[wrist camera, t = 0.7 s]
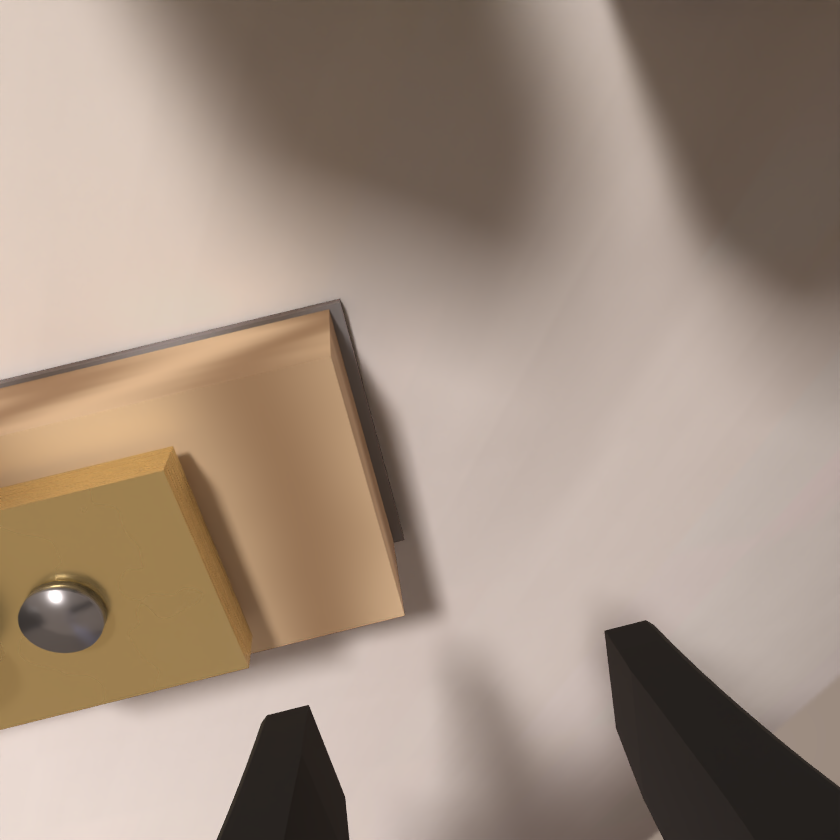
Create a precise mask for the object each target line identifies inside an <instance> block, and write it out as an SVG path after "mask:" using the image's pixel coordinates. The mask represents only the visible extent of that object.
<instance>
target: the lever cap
mask: <svg viewBox="0 0 840 840" xmlns="http://www.w3.org/2000/svg"><path fill="white" fill-rule="evenodd" d="M252 638H253V636H252V633H251V631H250V628H249V626H248V624H247V621H246V619H245V617H244V614H243V612H242V609H241V607H240V605H239V602H238V600H237V597H236V595H235V593H234V590H233V588H232V586H231V583H230V581H229V578H228V576H227V574H226V571H225V569H224V566H223V564H222V562H221V559H220V557H219V555H218V552H217V550H216V547H215V545H214V543H213V540H212V538H211V536H210V533H209V531H208V528H207V526H206V524H205V521H204V519H203V516H202V514H201V512H200V509H199V507H198V505H197V502H196V500H195V497H194V495H193V493H192V490H191V488H190V485H189V483H188V481H187V478H186V476H185V474H184V471H183V469H182V466H181V464H180V462H179V459H178V457H177V455H176V452H175V450H174V447H173V446H170V447H166V448H162V449H158V450H154V451H150V452H146V453H142V454H138V455H133V456H129V457H125V458H121V459H117V460H113V461H109V462H105V463H101V464H96V465H92V466H88V467H84V468H80V469H76V470H72V471H68V472H64V473H59V474H55V475H51V476H47V477H43V478H39V479H35V480H31V481H27V482H22V483H18V484H14V485H10V486H6V487H2V488H0V730H2V729H6V728H10V727H14V726H18V725H22V724H26V723H30V722H34V721H38V720H42V719H46V718H50V717H54V716H58V715H62V714H66V713H70V712H74V711H78V710H82V709H86V708H90V707H94V706H98V705H102V704H106V703H110V702H114V701H118V700H122V699H126V698H130V697H134V696H138V695H142V694H146V693H150V692H154V691H158V690H162V689H166V688H170V687H174V686H178V685H182V684H186V683H190V682H194V681H198V680H202V679H206V678H210V677H214V676H218V675H222V674H226V673H230V672H234V671H238V670H242V669H246V668H249V663H250V654H251V646H252Z"/></svg>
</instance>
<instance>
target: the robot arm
mask: <svg viewBox="0 0 840 840" xmlns="http://www.w3.org/2000/svg"><path fill="white" fill-rule="evenodd" d="M605 639H606V647H607V656H608V664H609V673H610V681H611V689H612V698H613V706H614V714H615V723H616V729H617V732H618V734H619V737H620V740H621V742H622V745H623V747H624V750H625V753H626V755H627V758H628V761H629V763H630V766H631V768H632V771H633V773H634V776H635V778H636V781H637V784H638V786H639V789H640V791H641V794H642V796H643V799H644V801H645V803H646V805H647V807H648V809H649V811H650V813H651V815H652V817H653V819H654V821H655V823H656V825H657V827H658V829H659V831H660V833H661V835H662V837H663V839H664V840H840V787H839V786H837V785H836V784H835V783H834V782H832V781H831V780H829V779H828V778H827V777H826V776H824V775H823V774H822V773H821V772H819V771H818V770H817V769H815V768H814V767H813V766H811V765H810V764H809V763H808V762H806V761H805V760H804V759H803V758H801V757H800V756H799V755H798V754H796V753H795V752H794V751H793V750H791V749H790V748H789V747H788V746H786V745H785V744H784V743H783V742H782V741H780V740H779V739H778V738H777V737H776V736H774V735H773V734H772V733H771V732H770V731H769V730H767V729H766V728H765V727H764V726H763V725H761V724H760V723H759V722H758V721H757V720H756V719H754V718H753V717H752V716H751V715H750V714H748V713H747V712H746V711H745V710H744V709H743V708H741V707H740V706H739V705H738V704H737V703H736V702H735V701H733V700H732V699H731V698H730V697H729V696H728V695H727V694H725V693H724V692H723V691H722V690H721V689H720V688H719V687H718V686H717V685H716V684H714V683H713V682H712V681H711V680H710V679H709V678H708V677H707V676H706V675H705V674H704V673H702V672H701V671H700V670H699V669H698V668H697V667H696V666H695V665H694V664H693V663H692V662H691V661H690V660H689V659H688V658H687V657H686V656H684V655H683V654H682V653H681V652H680V651H679V650H678V649H677V648H676V647H675V646H674V645H673V644H672V643H671V642H670V641H669V640H668V639H667V638H666V637H665V636H664V635H663V634H662V633H661V632H660V631H659V630H658V629H657V628H656V627H655V626H654V625H653V624H651V623H650V622H648V621H646V620H645V621H641V622H637V623H633V624H629V625H625V626H621V627H617V628H613V629H609V630H605ZM217 840H349V832H348V822H347V811H346V801H345V796H344V793H343V791H342V788H341V785H340V783H339V780H338V778H337V775H336V773H335V770H334V768H333V765H332V763H331V760H330V758H329V755H328V753H327V750H326V747H325V745H324V742H323V740H322V737H321V735H320V732H319V730H318V727H317V725H316V722H315V720H314V717H313V715H312V712H311V710H310V707H309V705H307V706H303V707H299V708H295V709H291V710H287V711H283V712H279V713H275V714H271V715H267V716H266V717H265V719H264V720H263V722H262V723H261V726H260V729H259V732H258V735H257V737H256V740H255V743H254V746H253V749H252V751H251V754H250V757H249V760H248V762H247V765H246V768H245V770H244V773H243V776H242V778H241V781H240V784H239V786H238V789H237V791H236V794H235V796H234V799H233V801H232V804H231V806H230V809H229V811H228V814H227V816H226V819H225V821H224V824H223V826H222V828H221V831H220V833H219V835H218V838H217Z"/></svg>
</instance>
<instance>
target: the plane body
mask: <svg viewBox="0 0 840 840" xmlns="http://www.w3.org/2000/svg"><path fill="white" fill-rule="evenodd" d="M170 446H173V447H174V450H175V452H176V455H177V457H178V459H179V462H180V464H181V466H182V469H183V471H184V474H185V476H186V478H187V481H188V483H189V485H190V488H191V490H192V493H193V495H194V497H195V500H196V502H197V505H198V507H199V509H200V512H201V514H202V516H203V519H204V521H205V524H206V526H207V528H208V531H209V533H210V536H211V538H212V540H213V543H214V545H215V547H216V550H217V552H218V555H219V557H220V559H221V562H222V564H223V566H224V569H225V571H226V574H227V576H228V578H229V581H230V583H231V586H232V588H233V590H234V593H235V595H236V597H237V600H238V602H239V605H240V607H241V609H242V612H243V614H244V617H245V619H246V621H247V624H248V626H249V628H250V631H251V633H252V636H253V638H252V646H251V654H252V653H256V652H260V651H264V650H268V649H272V648H276V647H280V646H284V645H288V644H292V643H296V642H300V641H304V640H308V639H312V638H316V637H320V636H324V635H328V634H332V633H337V632H341V631H345V630H349V629H353V628H357V627H361V626H365V625H369V624H373V623H377V622H381V621H385V620H389V619H393V618H397V617H401V616H405V614H404V608H403V601H402V595H401V588H400V582H399V575H398V569H397V562H396V556H395V549H394V543H393V542H398V541H402V540H404V537H403V532H402V529H401V525H400V521H399V517H398V514H397V510H396V506H395V502H394V499H393V495H392V491H391V488H390V484H389V480H388V476H387V473H386V469H385V465H384V462H383V458H382V454H381V450H380V447H379V443H378V439H377V435H376V432H375V428H374V424H373V421H372V417H371V413H370V409H369V406H368V402H367V398H366V395H365V391H364V387H363V383H362V380H361V376H360V372H359V368H358V365H357V361H356V357H355V354H354V350H353V346H352V342H351V339H350V335H349V331H348V328H347V324H346V320H345V316H344V313H343V309H342V305H341V301H340V299H337V300H333V301H329V302H324V303H320V304H316V305H312V306H308V307H304V308H299V309H295V310H291V311H287V312H283V313H279V314H274V315H270V316H266V317H262V318H258V319H254V320H250V321H245V322H241V323H237V324H233V325H229V326H225V327H220V328H216V329H212V330H208V331H204V332H200V333H195V334H191V335H187V336H183V337H179V338H175V339H171V340H166V341H162V342H158V343H154V344H150V345H146V346H141V347H137V348H133V349H129V350H125V351H121V352H116V353H112V354H108V355H104V356H100V357H96V358H92V359H87V360H83V361H79V362H75V363H71V364H67V365H62V366H58V367H54V368H50V369H46V370H42V371H37V372H33V373H29V374H25V375H21V376H17V377H13V378H8V379H4V380H0V488H2V487H6V486H10V485H14V484H18V483H22V482H27V481H31V480H35V479H39V478H43V477H47V476H51V475H55V474H59V473H64V472H68V471H72V470H76V469H80V468H84V467H88V466H92V465H96V464H101V463H105V462H109V461H113V460H117V459H121V458H125V457H129V456H133V455H138V454H142V453H146V452H150V451H154V450H158V449H162V448H166V447H170Z"/></svg>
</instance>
